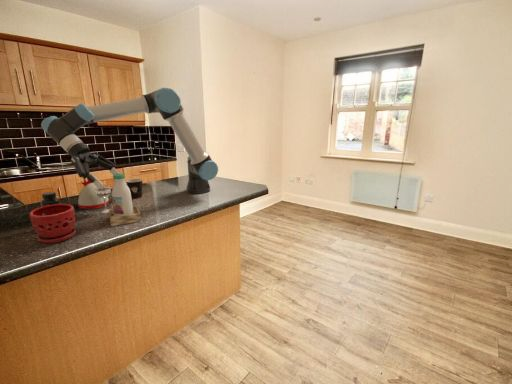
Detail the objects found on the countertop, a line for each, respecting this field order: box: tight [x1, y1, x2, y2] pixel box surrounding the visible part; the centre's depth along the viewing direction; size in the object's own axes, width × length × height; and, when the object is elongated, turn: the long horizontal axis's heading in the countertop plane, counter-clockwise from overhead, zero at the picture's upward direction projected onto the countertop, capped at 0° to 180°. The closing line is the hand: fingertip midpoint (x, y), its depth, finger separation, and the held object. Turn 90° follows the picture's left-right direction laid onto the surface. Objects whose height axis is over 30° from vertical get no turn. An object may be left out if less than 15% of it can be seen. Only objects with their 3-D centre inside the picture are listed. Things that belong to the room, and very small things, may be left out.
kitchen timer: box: [77, 179, 110, 210], centre depth 135 cm, size 14×14×15 cm
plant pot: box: [29, 203, 77, 244], centre depth 96 cm, size 13×13×12 cm
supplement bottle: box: [40, 191, 61, 216], centre depth 115 cm, size 7×7×12 cm
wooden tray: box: [108, 205, 142, 227], centre depth 117 cm, size 12×12×4 cm
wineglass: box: [95, 185, 112, 214], centre depth 125 cm, size 7×7×12 cm
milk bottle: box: [111, 173, 134, 217], centre depth 114 cm, size 8×8×20 cm
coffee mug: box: [125, 178, 143, 200], centre depth 150 cm, size 12×9×10 cm
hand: (112, 182), depth 113 cm, fingers open, 13 cm apart
